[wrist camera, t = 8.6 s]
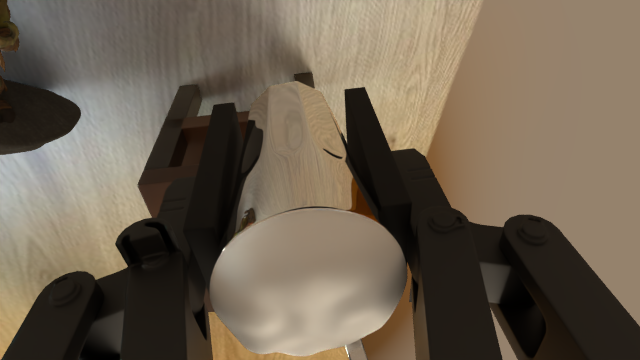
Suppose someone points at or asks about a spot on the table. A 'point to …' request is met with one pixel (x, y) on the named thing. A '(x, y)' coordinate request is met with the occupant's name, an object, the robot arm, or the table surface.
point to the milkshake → (303, 236)
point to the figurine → (28, 104)
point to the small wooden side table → (183, 147)
